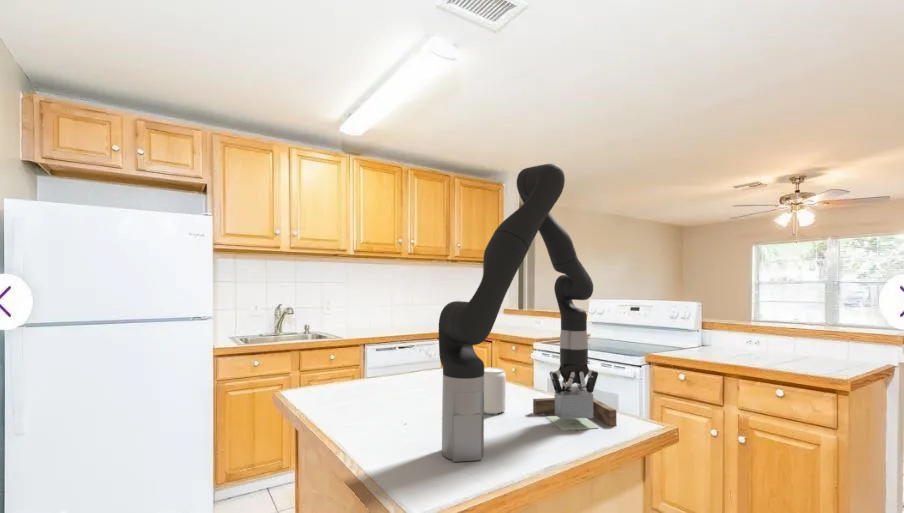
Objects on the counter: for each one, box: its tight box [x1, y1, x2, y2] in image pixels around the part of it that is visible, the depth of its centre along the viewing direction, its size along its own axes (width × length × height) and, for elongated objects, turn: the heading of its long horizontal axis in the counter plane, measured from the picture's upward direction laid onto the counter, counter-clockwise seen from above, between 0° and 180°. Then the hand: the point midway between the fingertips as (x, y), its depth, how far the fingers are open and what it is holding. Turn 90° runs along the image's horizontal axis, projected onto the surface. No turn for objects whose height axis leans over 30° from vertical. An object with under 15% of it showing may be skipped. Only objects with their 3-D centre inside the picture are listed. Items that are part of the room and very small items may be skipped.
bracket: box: [554, 385, 594, 419], centre depth 120 cm, size 9×9×6 cm
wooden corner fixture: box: [532, 397, 617, 427], centre depth 123 cm, size 14×18×4 cm
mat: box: [545, 415, 599, 431], centre depth 120 cm, size 11×10×1 cm
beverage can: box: [484, 366, 507, 415], centre depth 130 cm, size 8×8×12 cm
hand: (574, 408), depth 123 cm, fingers closed on bracket, 4 cm apart
